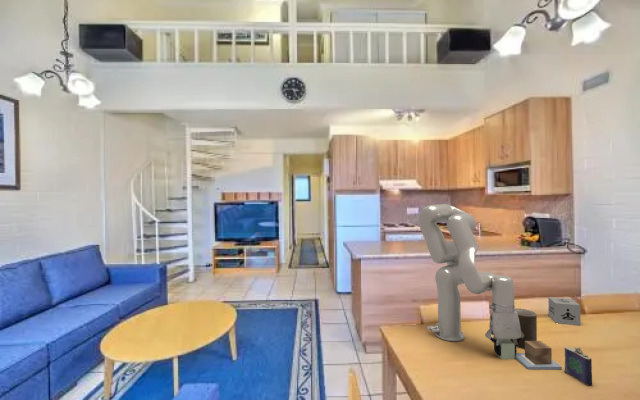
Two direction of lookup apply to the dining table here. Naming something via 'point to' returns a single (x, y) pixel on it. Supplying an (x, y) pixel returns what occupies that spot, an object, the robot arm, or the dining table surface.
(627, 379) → the dining table surface
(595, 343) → the dining table surface
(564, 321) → the icon cube
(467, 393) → the dining table surface
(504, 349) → the green block
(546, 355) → the walnut block
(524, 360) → the blueprint board
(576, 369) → the flask
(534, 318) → the pillar candle
